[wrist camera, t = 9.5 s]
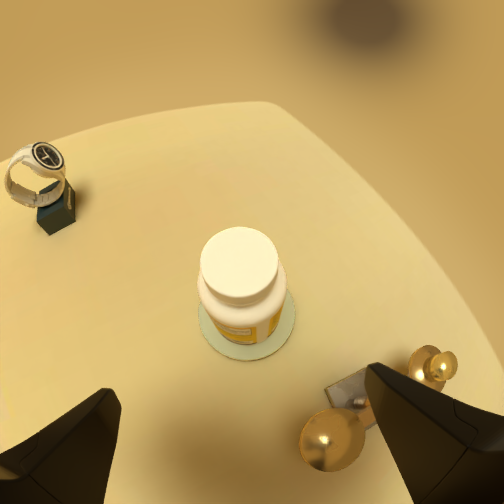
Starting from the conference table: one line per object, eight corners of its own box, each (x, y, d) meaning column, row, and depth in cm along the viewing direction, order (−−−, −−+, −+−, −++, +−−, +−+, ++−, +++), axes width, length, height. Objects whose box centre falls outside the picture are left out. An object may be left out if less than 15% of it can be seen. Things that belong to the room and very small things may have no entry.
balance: (421, 389, 19) (476, 379, 12) (297, 460, 17) (318, 490, 10) (401, 344, 22) (452, 320, 15) (274, 410, 19) (285, 420, 12)
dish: (308, 339, 22) (310, 337, 21) (218, 374, 21) (217, 373, 20) (271, 261, 26) (272, 256, 25) (189, 290, 24) (187, 285, 24)
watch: (88, 215, 29) (44, 149, 19) (39, 241, 27) (-10, 187, 18) (86, 185, 31) (51, 123, 22) (41, 210, 30) (0, 156, 20)
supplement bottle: (261, 274, 24) (265, 202, 15) (290, 329, 22) (314, 283, 13) (203, 298, 23) (173, 237, 14) (228, 357, 21) (209, 330, 12)
